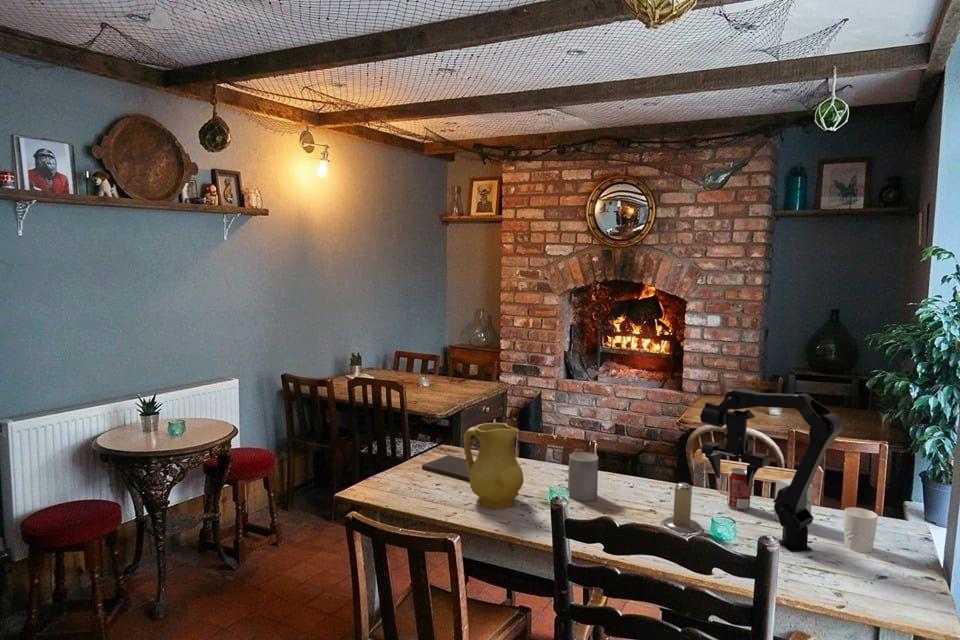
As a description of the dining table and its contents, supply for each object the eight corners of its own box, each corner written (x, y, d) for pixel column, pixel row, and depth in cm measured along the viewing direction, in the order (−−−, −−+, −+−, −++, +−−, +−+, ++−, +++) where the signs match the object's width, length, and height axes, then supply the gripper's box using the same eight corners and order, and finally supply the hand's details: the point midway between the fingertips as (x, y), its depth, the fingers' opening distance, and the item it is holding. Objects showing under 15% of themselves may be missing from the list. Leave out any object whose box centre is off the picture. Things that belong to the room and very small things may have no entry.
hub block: (690, 522, 189) (692, 483, 188) (689, 527, 184) (691, 488, 183) (674, 519, 190) (676, 481, 189) (672, 524, 186) (675, 485, 185)
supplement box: (790, 528, 189) (793, 487, 188) (772, 518, 196) (775, 478, 195) (810, 526, 191) (813, 485, 190) (792, 516, 198) (795, 477, 197)
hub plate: (710, 535, 182) (710, 531, 182) (671, 536, 181) (671, 532, 181) (691, 518, 194) (691, 515, 194) (653, 520, 193) (654, 516, 192)
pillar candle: (574, 489, 218) (575, 446, 216) (601, 494, 213) (603, 451, 211) (562, 498, 209) (564, 453, 208) (591, 504, 204) (592, 458, 203)
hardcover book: (448, 460, 248) (448, 454, 248) (497, 473, 234) (497, 466, 234) (421, 470, 235) (421, 464, 235) (471, 484, 221) (471, 477, 221)
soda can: (751, 512, 201) (753, 475, 200) (728, 510, 202) (731, 473, 201) (746, 504, 208) (749, 468, 207) (725, 502, 209) (727, 466, 208)
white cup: (844, 539, 182) (847, 505, 182) (876, 547, 177) (879, 512, 177) (839, 547, 176) (842, 513, 176) (872, 556, 171) (875, 520, 171)
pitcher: (493, 515, 192) (494, 433, 191) (456, 500, 206) (457, 423, 205) (534, 505, 202) (535, 426, 202) (495, 491, 217) (497, 418, 216)
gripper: (779, 433, 187) (775, 484, 188) (718, 420, 201) (715, 469, 202) (763, 439, 179) (759, 493, 181) (701, 426, 193) (698, 476, 194)
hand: (732, 482), depth 190 cm, fingers open, 9 cm apart
